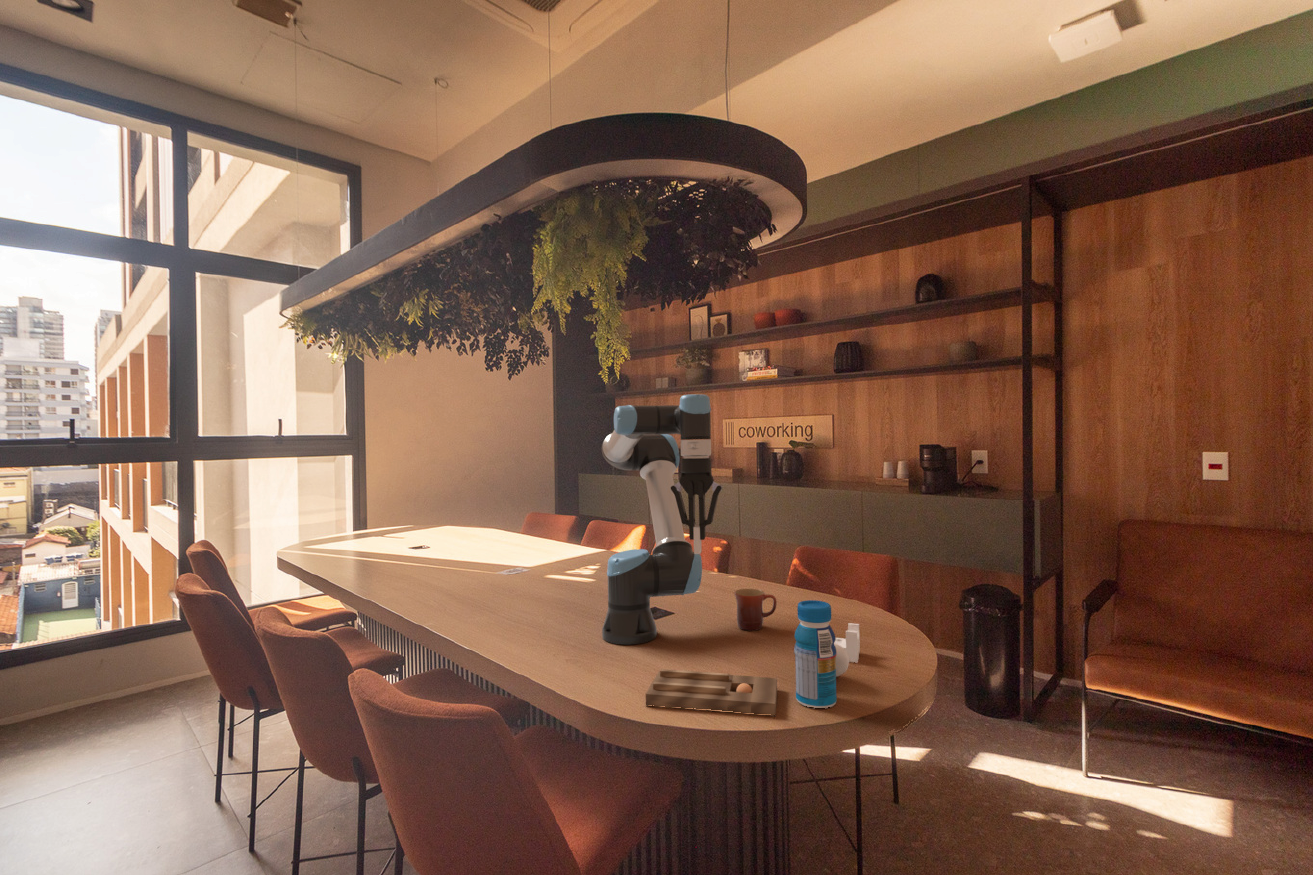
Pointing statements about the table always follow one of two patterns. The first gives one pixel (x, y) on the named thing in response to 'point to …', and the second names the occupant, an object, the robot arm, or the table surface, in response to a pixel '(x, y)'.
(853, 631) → the bracket
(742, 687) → the ball
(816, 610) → the beverage bottle
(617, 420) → the robot arm
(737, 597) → the mug
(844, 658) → the white knot
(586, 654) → the table surface
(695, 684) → the lane board
